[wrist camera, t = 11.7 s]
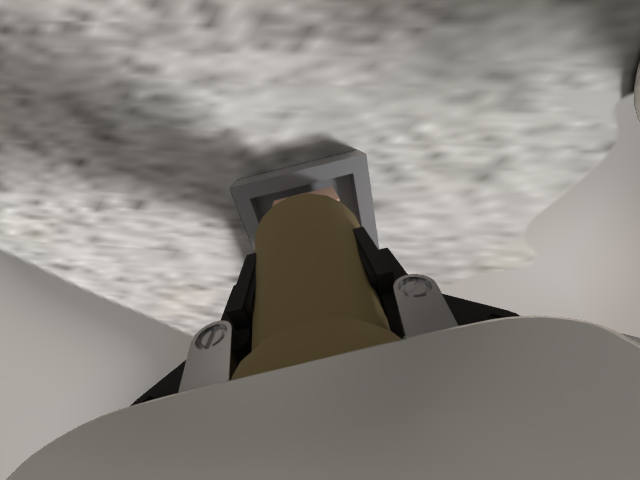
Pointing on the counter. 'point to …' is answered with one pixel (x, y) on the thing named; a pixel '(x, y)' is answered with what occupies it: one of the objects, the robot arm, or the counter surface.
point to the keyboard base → (308, 189)
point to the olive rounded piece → (310, 287)
